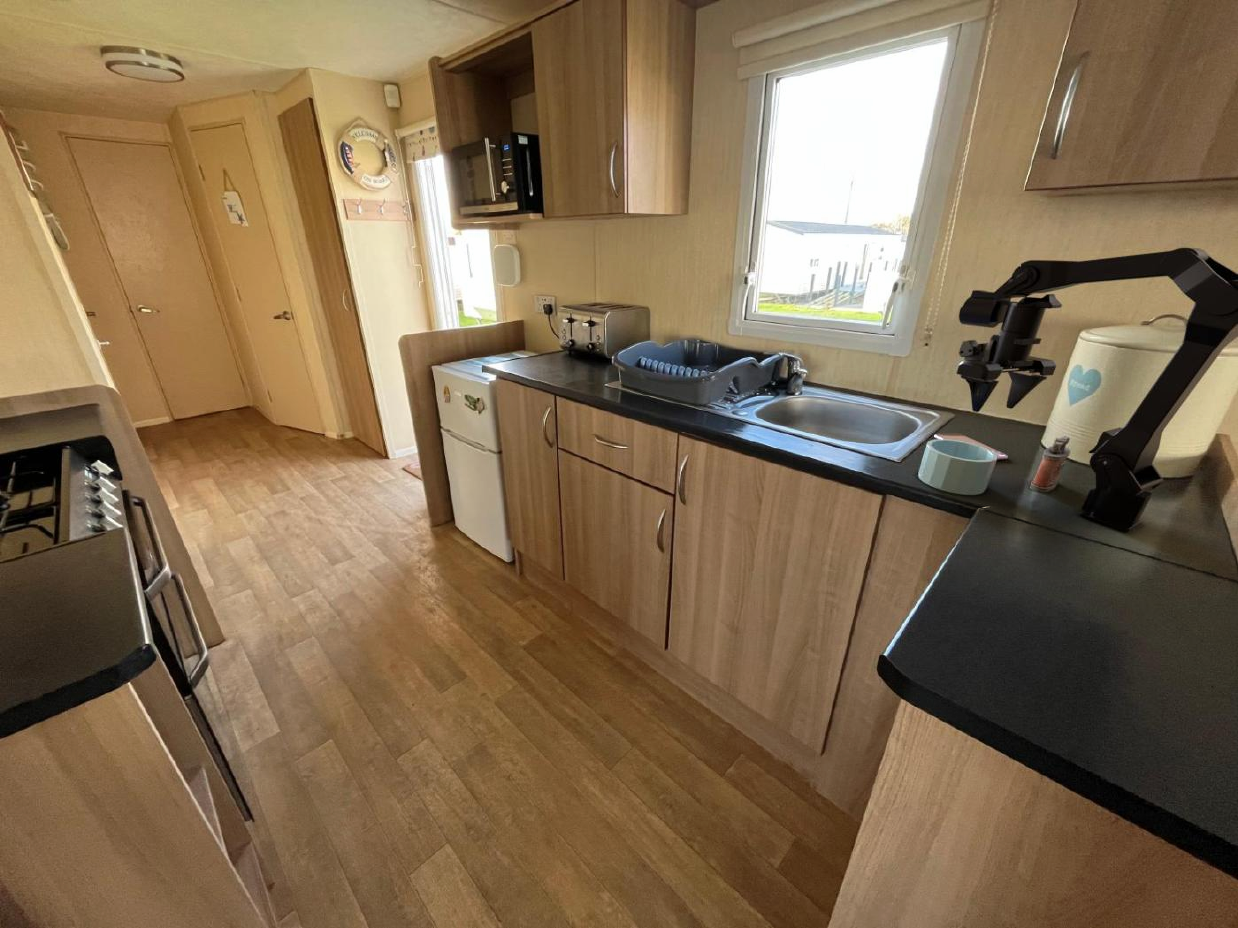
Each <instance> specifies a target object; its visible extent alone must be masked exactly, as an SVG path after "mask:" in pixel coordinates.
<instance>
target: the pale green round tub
mask: <svg viewBox="0 0 1238 928" xmlns="http://www.w3.org/2000/svg"><path fill="white" fill-rule="evenodd" d="M923 452H924V453H923V456H922V459H921V463H920V466H919V469H918V473H917V477H918V478H919V480H920V481H921V482H923V483H924V484H925V485H927V486H930V487H932V488H934V489H937V490H940V491H943V492H947V493H951V494H956V495H964V496H977V495H980V494H983V493H985V492H986V490H987V488H988V485H989V482H990V479H991V477H992V474H993V472H994V469H995V466H996V463H997V461H998V460H997V455H996V454H995V453H994V452H993V451H991V450H989V449H986V448H984V447H982V446H979V445H976V444H972V443H968V442H963V441H958V440H949V439H936V438H934V439H931V440H929V441H927V443H926V446H925V449H924V451H923Z"/></svg>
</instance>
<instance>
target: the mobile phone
mask: <svg viewBox="0 0 1238 928" xmlns="http://www.w3.org/2000/svg"><path fill="white" fill-rule="evenodd" d="M933 435H934V436H933V437H934V439H949V440H958V441H963V442H968V443H972V444H976V445H979V446H982V447H984V448H986V449H989V450H991V451H993V452H994V453H995V454H996V455H997V461H999V460H1007V459H1008V457H1009V456H1008V454H1006V453H1004V452H1002V451H999V450H997V449H995V448H992V447H990V446H988V445H986V444H984V443H982V442H980V441H977V440H975V439H972V438H971V437H969V436H966V435H964V434H962V433H958V432H957V433H954V432H953V433H935V434H933Z"/></svg>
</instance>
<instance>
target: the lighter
mask: <svg viewBox="0 0 1238 928" xmlns="http://www.w3.org/2000/svg"><path fill="white" fill-rule="evenodd" d="M1070 440H1071V438H1070V437H1069V436H1066V435H1063V436H1062V437H1060V438H1059V437H1056V438H1055V439H1054V441H1053V442H1052V446H1049V447H1046V448H1045V449H1044V451H1043V453H1042V459H1041V461H1040V464H1039V467H1038V469H1037V471H1036V474H1035V477H1034V478H1033V479H1032V480H1031V484H1030V486H1029V488H1030V489H1032V490H1034V491H1036V492H1041V493H1047V492H1050V491H1052V490H1054V489H1055V488H1056V486H1057V484H1058V481H1059V480H1058V478H1059V476H1060V473H1061V472H1062V470H1063V469H1064V468H1065V465H1066V464H1067V460H1066V459H1067V458H1068V457H1069V456H1070V454H1071V451H1072V450H1071V448H1069V447H1066V446H1067V445H1068V444H1069V442H1070Z"/></svg>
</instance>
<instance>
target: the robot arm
mask: <svg viewBox="0 0 1238 928" xmlns="http://www.w3.org/2000/svg"><path fill="white" fill-rule="evenodd" d="M1163 277H1168V278H1169V280H1172V282H1173V283H1174V284H1175V285H1176V287H1178V289H1179V290H1180V291H1181V292H1182V294H1184V295H1185V296H1186V297H1187V298H1188V299H1190V300H1191V301H1192V302H1193V303H1194V305H1193V307H1192V309H1191V312H1190V314H1189V317H1188V319H1187V321H1186V326H1185V332H1184V336H1183V340H1182V342H1181V344H1180V345H1179V347H1178V348H1177V350H1176V351H1175V352H1174V354H1173V355H1172V357H1171V359H1170V360H1169V361H1168V363H1167V364H1166V366H1165V367H1164V368H1163V370H1162V371H1161V373H1160V375H1159V376H1158V377H1157V378H1156V380H1155V382H1154V383H1153V385H1152V386H1151V388H1150V389H1149V390H1148V392H1147V394H1146V395H1145V396H1144V398H1143V399H1142V401H1141V402H1140V404H1139V405H1138V407H1137V408H1136V409H1135V411H1134V412H1133V414H1132V415H1131V417H1130V418H1129V420H1128V421H1127V422H1126V424H1125V425H1123V427H1121V426H1120V427H1115V428H1112V429H1109V430H1106V431H1102V432H1101V434H1100V436H1099V438H1098V441H1097V443H1096V445H1095V446H1094V447H1093V448H1092V449H1090V450H1089V451H1088V453H1089V454H1092V455H1091V456H1090V458H1089V466H1090V467H1091V470H1092V471H1093V472H1094V473H1095V486H1094V487H1092V488H1090V489H1089V490H1088V493H1087V495H1086V498H1085V499H1084V502H1083V503H1082V506H1081V510H1082V511H1080V513H1079V516H1080V517H1083V518H1085V519H1088V520H1091V521H1094V522H1097V523H1100V524H1102V525H1104V526H1108V527H1110V528H1114V529H1116V530H1119V531H1121V532H1125V533H1129V532H1130V531H1131V530H1133V529H1134V528H1136V527H1137V526H1139V525H1140V524H1141V523H1142V520H1140V519H1141V517H1142V515H1143V513H1144V511H1145V509H1146V507H1147V505H1148V504H1149V502H1150V500H1151V498H1152V496H1153V493H1152V492H1149V491H1151V490H1155V489H1156V488H1157V487H1158V486H1160V485H1161V484H1163V482H1164V481H1165V479H1164V478H1163V477H1162V475H1161V474H1160V472H1159V470H1158V469H1157V468H1156V467H1155V465H1154V464H1153V463H1154V460H1155V458H1156V456H1157V454H1158V451H1159V449H1160V445H1161V440H1162V436H1163V432H1164V431H1165V429H1166V427H1167V426H1168V425H1169V423H1170V422H1171V421H1172V419H1173V418H1174V416H1175V415H1176V414H1177V412H1178V411H1180V408H1181V407H1182V406H1183V404H1184V403H1185V401H1187V399H1188V397H1189V396H1190V395H1191V393H1192V392H1193V391H1194V389H1195V388H1196V387H1197V385H1198V384H1199V382H1200V381H1201V380H1202V378H1203V377H1204V376H1205V374H1206V373H1207V372H1208V370H1209V369H1210V368H1211V367H1212V365H1213V363H1214V362H1215V361H1216V360H1217V358H1218V357H1219V355H1221V352H1223V350H1224V349H1225V348H1226V347H1227V346H1228V345H1230V343H1232V342H1233V341H1234V340H1236V339H1237V338H1238V272H1236V271H1235V270H1234V269H1233V270H1232V269H1231V268H1230V267H1227V266H1226V265H1225V264H1223V263H1221V262H1219V261H1218V260H1216V259H1214V258H1213V257H1212V256H1210V255H1209V254H1208V252H1207V251H1206V250H1204V249H1202V248H1200V247H1178V248H1176V249H1171V250H1165V251H1156V252H1148V253H1141V254H1132V255H1131V254H1130V255H1123V256H1114V257H1104V258H1096V259H1088V260H1055V259H1049V260H1048V259H1031V260H1030V259H1029V260H1026V261H1023V262H1021V263H1020V264H1019V265H1018V266H1017V267H1016V268H1015V269H1014V270H1013V272H1012V274H1011V277H1009V278H1008V279H1007V280H1006V281H1005V282H1004V283H1003V284H1002V285H1000V286H999V287H998V288H997V289H996V290H995V291H987V290H984V289H974V290H971V294H970V296H969V297H968V298H966V300H965V301H964V303H963V304H962V306H961V307H960V308H959V313H958V319H959V323H960V324H961V325H965V326H974V327H982V328H989V329H992V328H993V329H994V328H996V327H997V326H998V325H1000V324H1001V326H1000V330H999V332H998V334H992V335H991V336H990V339H989V341H988V342H984V343H978V342H977V340H976V339H969V340H964V341H962V343H961V344H960V347H959V351H958V355H959V357H960V358H963V360H962V361H961V362H960V363H958V366H957V369H956V372H955V373H956V375H958V376H959V375H960V378H961V379H963V380H965V381H966V382H967V384H968V386H969V391H970V399H971V409H972V412H974V413H979V412H980V411H981V409H982V408H983V407H984V405H985V404H986V402H987V401H988V399H989V398H990V396H991V395H992V394H993V392H994V390H995V389H996V387H997V386H998V384H999V382H1000V381H999V380H997V379H998V378H1000V377H1001V375H1002V374H1003V373H1004V374H1005V373H1007V374H1008V376H1009V378H1010V380H1011V382H1010V387H1009V391H1008V394H1007V399H1006V405H1005V406H1006V408H1007V409H1009V410H1011V409H1014V408H1015V407H1016V406H1017V405H1018V404H1019V403H1020V402H1021V401H1022V400H1024V399H1025V397H1026V396H1027V395H1028V394H1030V393H1031V391H1033V390H1034V389H1035V388H1036V387H1037V386H1038V385H1040V384H1041V383H1042V382H1043V381H1046V380H1047V379H1048V376H1054V373H1055V370H1056V368H1057V364H1056V363H1055V361H1054V359H1048V358H1042V357H1037V356H1031V353H1032V350H1033V347H1034V345H1040V344H1041V341H1042V338H1041V337H1040V338H1039V337H1037V336H1038V334H1039V330H1040V327H1041V324H1042V322H1043V318H1044V316H1045V313H1046V310H1047V309H1049V310H1050V309H1060V308H1062V306H1063V303H1061V302H1060V301H1059V300H1058V299H1057V298H1056V295H1055V294H1054V293H1051V292H1055V291H1059V290H1064V289H1068V288H1071V287H1074V286H1079V285H1083V284H1092V283H1093V284H1094V283H1103V282H1105V283H1106V282H1115V281H1127V280H1141V279H1151V278H1163ZM1046 293H1049V294H1046ZM1034 294H1045V295H1044V296H1042V297H1034V296H1032V295H1034ZM1015 298H1017V299H1019V298H1020V300H1019V301H1011V300H1012V299H1015Z"/></svg>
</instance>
